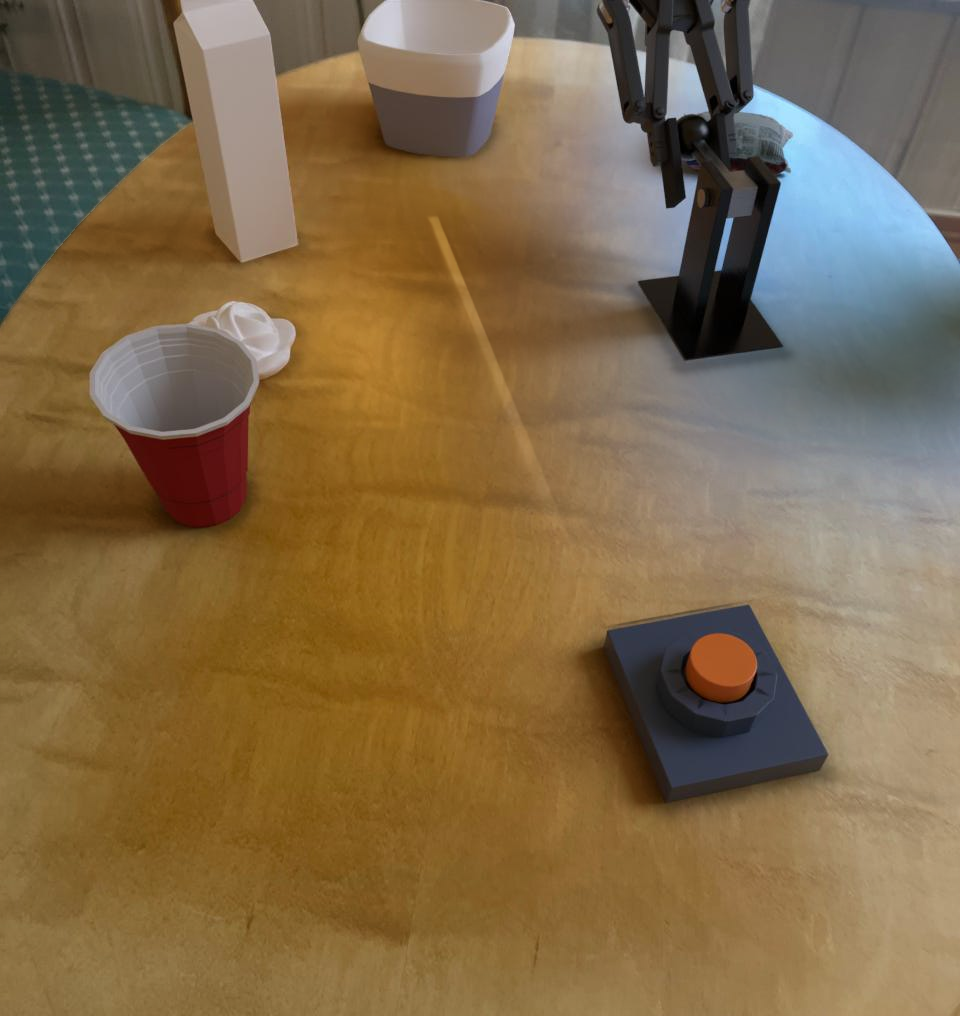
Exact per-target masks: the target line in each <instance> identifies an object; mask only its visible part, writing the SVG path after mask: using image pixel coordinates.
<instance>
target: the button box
mask: <svg viewBox="0 0 960 1016" xmlns="http://www.w3.org/2000/svg"><path fill="white" fill-rule="evenodd" d="M718 633H720V634H728V635H731V636H734V637H737V638H739V639H740V640H742V641H744V642H745V643H746V644H747V645H748V646H749V647H750V648H751V649H752V651H753V652H754V654H755V656H756V660H757V670H756V673H755V676H754V678H753V681H752V683H751V686H750V688H749V690H748V691H747V693H746V694H745V695H744V696H743V697H741V698H739V699H738V700H735V701H732V702H726V703H721V702H714V701H710V700H707V699H705V698H703V697H701V696H700V695H698V694H697V693H696V692H695V691H694V690H693V689H692V688H691V687H690V685H689V684H688V682H687V679H686V675H685V668H686V664H687V661H688V658H689V655H690V651H691V648H692V646H693V645H694V643H695V642H696V641H697V640H699V639H700V638H702V637H704V636H706V635H710V634H718ZM603 650H604V653H605V655H606V658H607V660H608V661H609V662H608V663H609V666H610V667H611V669H612V672H613V674H614V678H615V680H616V682H617V684H618V687H619V690H620V692H621V695H622V697H623V700H624V702H625V705H626V707H627V710H628V713H629V715H630V717H631V720H632V722H633V725H634V727H635V730H636V732H637V734H638V737H639V739H640V742H641V744H642V747H643V750H644V752H645V755H646V757H647V760H648V762H649V765H650V767H651V770H652V772H653V775H654V777H655V780H656V782H657V784H658V787H659V789H660V792H661V794H662V797H663V800H664V802H665V803H666V804H669V803H675V802H678V801H683V800H689V799H692V798H698V797H702V796H707V795H711V794H715V793H721V792H726V791H731V790H735V789H739V788H745V787H749V786H755V785H758V784H762V783H768V782H772V781H777V780H781V779H782V780H783V779H786V778H790V777H792V778H793V777H795V776H801V775H805V774H809V773H815V772H818V771H819V772H820V771H821V769H822V767H823V766H824V764H825V762H826V760H827V758H828V756H829V752H828V751H827V748H826V747H825V745H824V743H823V741H822V738H821V737H820V735H819V734H818V732H817V730H816V728H815V726H814V724H813V722H812V720H811V719H810V716H809V714H808V713H807V710H806V709H805V707H804V705H803V703H802V702H801V699H800V698H799V696H798V693H797V692H796V690H795V689H794V687H793V685H792V683H791V680H790V678H789V676H788V675H787V673H786V672H785V670H784V667H783V665H782V663H781V661H780V660H779V658H778V656H777V654H776V653H775V651H774V649H773V647H772V644H771V643H770V641H769V639H768V637H767V636H766V634H765V631H764V630H763V628H762V626H761V624H760V622H759V620H758V618H757V617H756V614H755V613H754V611H753V609H752V607H751V605H750V604H744V605H738V606H733V607H728V608H722V609H716V610H711V611H705V612H700V613H695V614H689V615H684V616H678V617H673V618H666V619H662V620H656V621H650V622H646V623H640V624H634V625H628V626H623V627H617V628H612V629H608V630H606V633H605V639H604V645H603Z"/></svg>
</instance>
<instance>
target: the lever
mask: <svg viewBox="0 0 960 1016" xmlns="http://www.w3.org/2000/svg"><path fill="white" fill-rule="evenodd" d="M696 114H697V113H689V114H685V116H684V115H682V116H681V117H679V118H678V119H676V120H677V128H678V136H679V145H680V153H681V161H684V160H685V161H684V162H686V161H691V160H695V159H696V160H697V162H698V163H699V164H701V162H708V161H712V162H713V163H714V164H715V166H716V167H717V168H718V169H719V171H720V172H721V173H722V175H723V176H724V177H725V179H726V180H727V181H728V182H729V184H730V185H731V186H732V188H733V192H732V196H731V200H730V205H729V209H728V214H727V218H726V219H733V218H736V217H744V216H752V212H753V208H754V204H755V199H756V195H757V191H758V186H757V185H756V183H755V182H754V181H753V180H752V179H751V177H750V176H749V175H748V174H747V173H746V172H745V170H742V171H733V172H729V170H728V169H727V168H726V167H725V165H724V164H723V163H722V162H721V161H720V159H719V158H718V157H717V156H716V154H715V153H714V152H713V151H712V150H711V148H710V147H709V145H710V142H711V129H710V126H709V124H708V122H707V121H706V120H705V119H704V118H703V117H701V116H699V115H696Z"/></svg>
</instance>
